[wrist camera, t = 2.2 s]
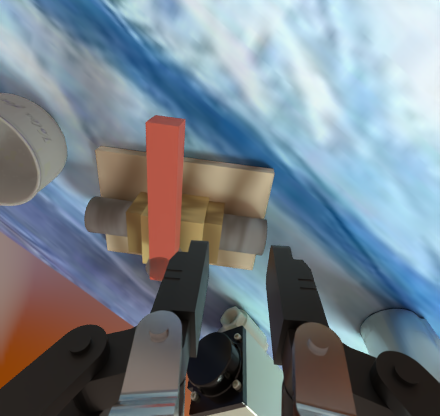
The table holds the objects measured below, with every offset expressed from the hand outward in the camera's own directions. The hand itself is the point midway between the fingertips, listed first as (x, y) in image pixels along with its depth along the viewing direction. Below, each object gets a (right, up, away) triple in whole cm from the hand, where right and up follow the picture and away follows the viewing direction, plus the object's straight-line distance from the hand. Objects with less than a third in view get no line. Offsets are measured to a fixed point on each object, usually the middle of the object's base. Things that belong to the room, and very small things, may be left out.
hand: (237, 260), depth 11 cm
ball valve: (+3, -18, +36) cm, 40 cm away
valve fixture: (-6, +2, +25) cm, 26 cm away
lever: (-6, +3, +14) cm, 15 cm away
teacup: (-25, +12, +21) cm, 34 cm away
